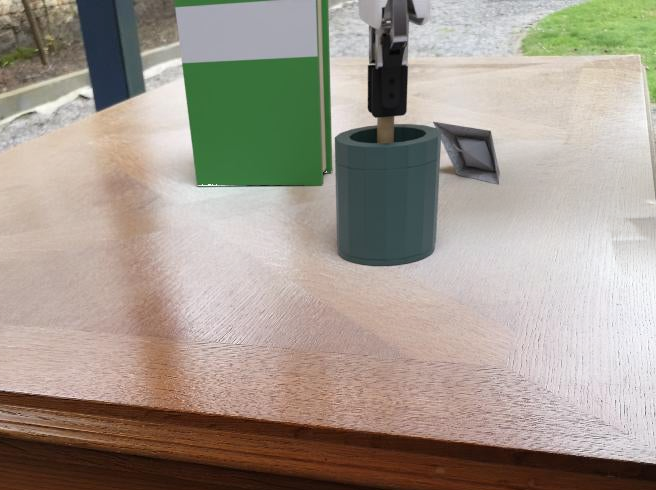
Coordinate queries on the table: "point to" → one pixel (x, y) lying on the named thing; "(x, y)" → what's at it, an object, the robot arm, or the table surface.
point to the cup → (387, 194)
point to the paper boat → (470, 151)
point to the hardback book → (257, 90)
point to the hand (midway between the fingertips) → (386, 112)
